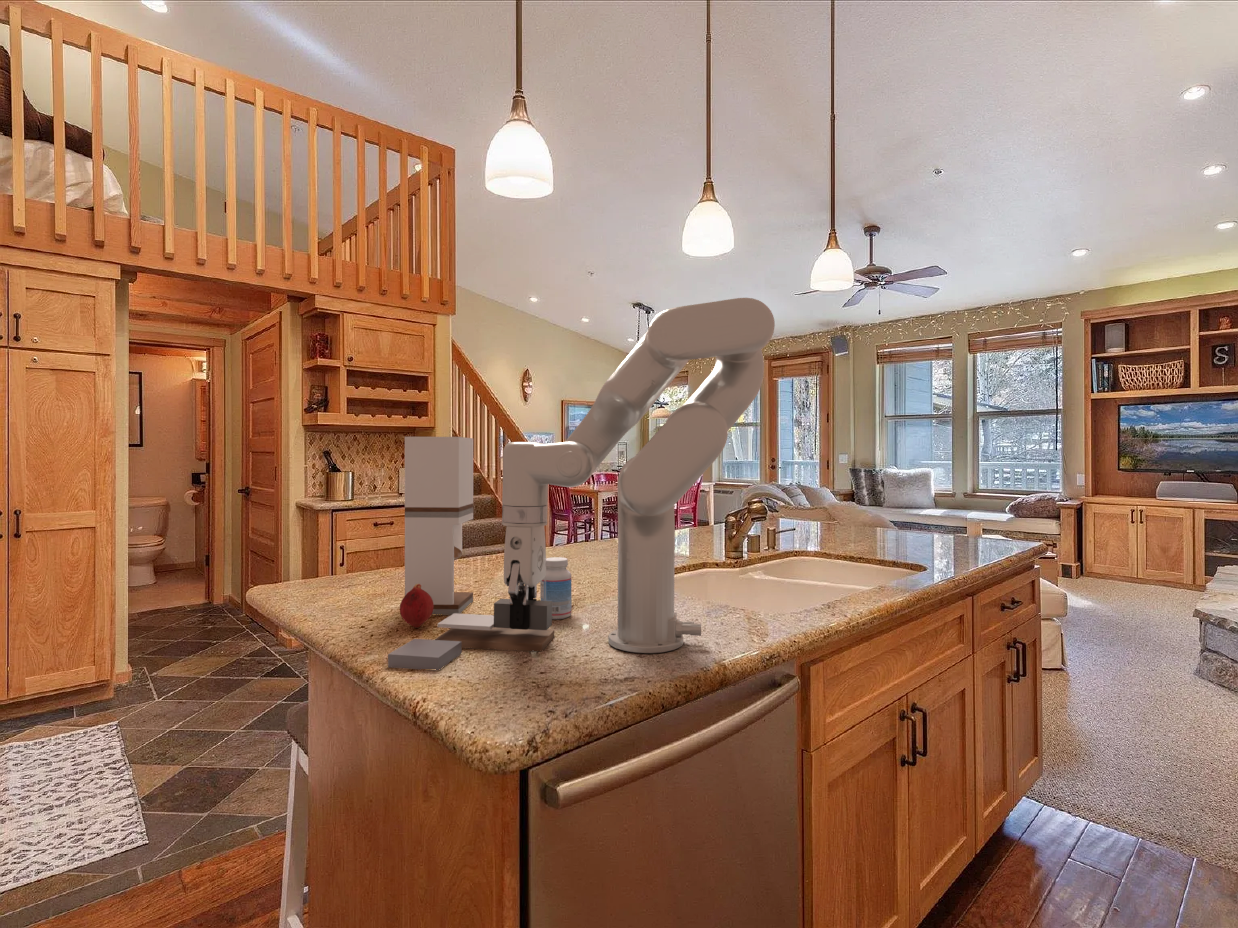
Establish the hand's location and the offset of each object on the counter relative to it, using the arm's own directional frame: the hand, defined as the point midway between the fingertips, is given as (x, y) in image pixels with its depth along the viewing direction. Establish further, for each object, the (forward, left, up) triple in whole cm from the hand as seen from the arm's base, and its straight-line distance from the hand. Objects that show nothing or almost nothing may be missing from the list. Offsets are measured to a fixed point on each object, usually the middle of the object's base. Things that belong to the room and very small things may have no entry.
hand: (523, 624), depth 106 cm
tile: (+12, +7, -2) cm, 14 cm away
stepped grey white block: (+5, 0, 0) cm, 5 cm away
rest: (+5, 0, -3) cm, 6 cm away
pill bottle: (-1, -18, -3) cm, 18 cm away
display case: (+24, -21, -3) cm, 32 cm away
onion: (+22, -6, -3) cm, 23 cm away
